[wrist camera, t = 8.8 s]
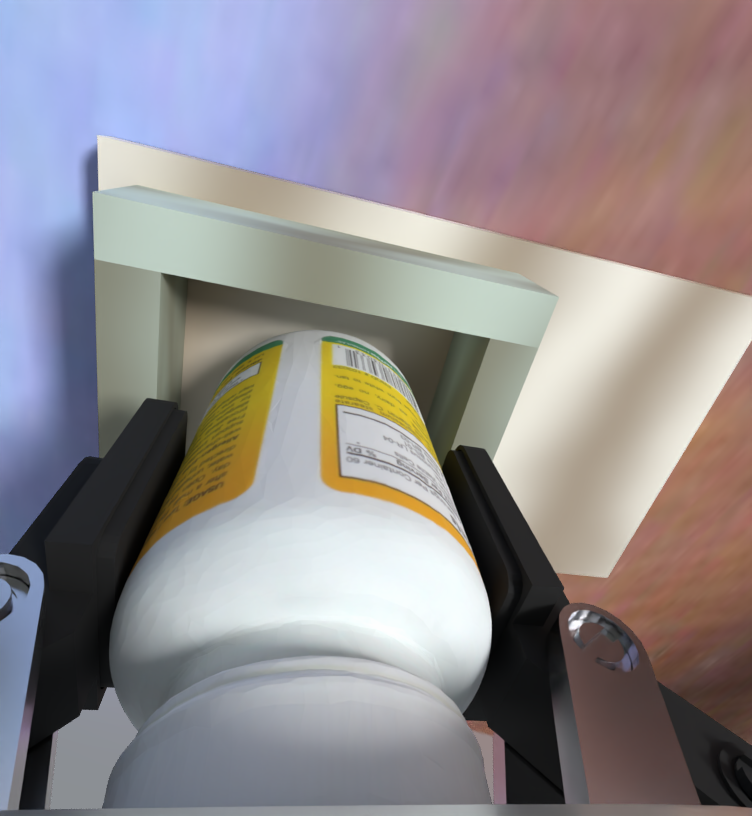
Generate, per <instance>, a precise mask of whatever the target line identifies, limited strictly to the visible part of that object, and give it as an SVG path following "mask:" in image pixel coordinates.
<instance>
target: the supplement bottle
mask: <svg viewBox="0 0 752 816" xmlns="http://www.w3.org/2000/svg"><path fill="white" fill-rule="evenodd" d="M491 637H492V621H491V612H490V606H489V601H488V596H487V592H486V589H485V586H484V583H483V580H482V578H481V575H480V572H479V569H478V566H477V563H476V560H475V557H474V554H473V551H472V548H471V546H470V544H469V542H468V539H467V536H466V534H465V531H464V528H463V525H462V522H461V520H460V517H459V515H458V512H457V510H456V507H455V504H454V501H453V499H452V496H451V493H450V490H449V488H448V485H447V483H446V480H445V477H444V475H443V472H442V469H441V467H440V464H439V462H438V459H437V456H436V453H435V451H434V448H433V445H432V443H431V440H430V437H429V435H428V432H427V429H426V426H425V423H424V420H423V418H422V415H421V413H420V410H419V407H418V405H417V402H416V400H415V398H414V395H413V393H412V390H411V388H410V386H409V384H408V382H407V381H406V379H405V377H404V376H403V374H402V373H401V371H400V370H399V369H398V367H397V366H396V365H395V364H394V363H393V362H392V361H391V360H390V359H389V358H388V357H386V356H385V355H384V354H383V353H382V352H380V351H379V350H378V349H376V348H375V347H373V346H372V345H370V344H368V343H366V342H364V341H363V340H361V339H358V338H356V337H353V336H350V335H348V334H343V333H339V332H333V331H325V330H301V331H294V332H290V333H286V334H282V335H278V336H275V337H272V338H269V339H267V340H265V341H263V342H261V343H259V344H258V345H256V346H255V347H253V348H252V349H251V350H249V351H248V352H247V353H246V354H244V355H243V356H242V357H241V358H240V359H239V360H238V361H236V362H235V364H234V365H233V366H232V367H231V368H230V369H229V370H228V372H227V373H226V374H225V375H224V377H223V378H222V380H221V382H220V383H219V385H218V387H217V389H216V391H215V393H214V395H213V398H212V400H211V402H210V404H209V407H208V409H207V410H206V412H205V414H204V416H203V419H202V421H201V423H200V425H199V427H198V429H197V432H196V434H195V436H194V439H193V441H192V443H191V445H190V447H189V449H188V451H187V453H186V456H185V458H184V460H183V462H182V464H181V466H180V468H179V471H178V473H177V475H176V477H175V479H174V481H173V483H172V486H171V488H170V490H169V492H168V494H167V496H166V498H165V500H164V502H163V504H162V507H161V509H160V511H159V513H158V515H157V517H156V519H155V521H154V523H153V526H152V528H151V530H150V532H149V534H148V536H147V538H146V541H145V543H144V545H143V547H142V549H141V552H140V554H139V556H138V558H137V560H136V562H135V564H134V566H133V568H132V570H131V572H130V575H129V577H128V579H127V581H126V583H125V586H124V588H123V591H122V593H121V596H120V598H119V601H118V603H117V607H116V610H115V613H114V617H113V621H112V626H111V631H110V644H109V662H110V670H111V677H112V681H113V684H114V688H115V691H116V694H117V696H118V699H119V701H120V703H121V706H122V708H123V710H124V712H125V713H126V715H127V716H128V718H129V719H130V721H131V723H132V724H133V726H134V727H135V728H136V729H137V730H138V733H137V735H136V737H135V739H134V740H133V741H132V742H131V743H130V745H129V746H128V747H127V748H126V749H125V751H124V752H123V753H122V754H121V756H120V757H119V759H118V760H117V762H116V764H115V766H114V768H113V770H112V773H111V775H110V778H109V781H108V785H107V789H106V795H105V799H104V803H103V807H102V809H118V808H186V807H258V806H358V805H475V804H492V802H491V798H490V793H489V789H488V785H487V780H486V777H485V772H484V762H483V757H482V753H481V749H480V746H479V743H478V741H477V739H476V737H475V735H474V734H473V732H472V730H471V729H470V728H469V727H468V725H467V722H466V720H465V718H464V716H463V715H462V714H463V713H464V711H465V710H466V709H467V707H468V706H469V704H470V703H471V701H472V700H473V698H474V696H475V694H476V692H477V691H478V689H479V686H480V684H481V681H482V679H483V676H484V673H485V671H486V667H487V663H488V660H489V654H490V649H491Z"/></svg>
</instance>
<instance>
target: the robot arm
mask: <svg viewBox="0 0 752 816" xmlns="http://www.w3.org/2000/svg"><path fill="white" fill-rule="evenodd" d="M187 420H188V413H187V411H184V410H178V403H177V402H172V401H165V400H159V399H152V398H146V399H145V400H144V402H143V403H142V405H141V406H140V407H139V409H138V410H137V412H136V413H135V414H134V416H133V417H132V419H131V420H130V422H129V423H128V424H127V426H126V427H125V429H124V430H123V431H122V433H121V434H120V436H119V437H118V438H117V440H116V441H115V443H114V444H113V445H112V447H111V448H110V450H109V451H108V452H107V454H106V455H105V457H104V458H97V457H86V458H84V459H83V460H82V461H81V462H80V463H79V464H78V466H77V467H76V468H75V470H74V471H73V472H72V473H71V475H70V476H69V477H68V479H67V480H66V481H65V482H64V484H63V485H62V486H61V488H60V489H59V490H58V491H57V493H56V494H55V495H54V497H53V498H52V499H51V500H50V502H49V503H48V504H47V506H46V507H45V508H44V509H43V511H42V512H41V513H40V514H39V516H38V517H37V518H36V520H35V521H34V522H33V523H32V525H31V526H30V527H29V529H28V530H27V531H26V532H25V534H24V535H23V536H22V538H21V539H20V540H19V541H18V543H17V544H16V545H15V547H14V548H13V549H12V550H11V552H10V553H9V554H0V816H752V746H751V745H750V744H748V743H747V742H745V741H744V740H743V739H741V738H740V737H738V736H737V735H735V734H734V733H732V732H731V731H729V730H728V729H726V728H725V727H724V726H722V725H721V724H719V723H718V722H716V721H715V720H713V719H712V718H710V717H709V716H708V715H706V714H705V713H703V712H702V711H700V710H699V709H697V708H696V707H694V706H693V705H691V704H690V703H689V702H687V701H686V700H684V699H683V698H681V697H680V696H678V695H677V694H675V693H674V692H672V691H671V690H670V689H668V688H667V687H665V686H664V685H662V684H661V683H659V682H658V681H657V680H656V677H655V674H654V671H653V669H652V666H651V663H650V660H649V657H648V655H647V652H646V651H645V649H644V647H643V645H642V643H641V641H640V640H639V639H638V637H637V636H636V635H635V634H634V632H633V631H632V630H631V629H630V628H629V627H628V626H626V625H625V624H624V623H623V622H622V621H621V620H620V619H618V618H617V617H615V616H614V615H612V614H611V613H609V612H607V611H605V610H603V609H601V608H599V607H596V606H594V605H590V604H585V603H571V604H570V603H569V601H568V599H567V598H566V596H565V594H564V592H563V590H564V587H563V585H562V583H561V581H560V580H559V578H558V576H557V574H556V573H555V571H554V569H553V567H552V566H551V564H550V562H549V560H548V559H547V557H546V555H545V553H544V552H543V550H542V548H541V546H540V544H539V543H538V541H537V539H536V537H535V536H534V534H533V532H532V530H531V529H530V527H529V525H528V523H527V522H526V520H525V518H524V516H523V515H522V513H521V511H520V509H519V507H518V506H517V504H516V502H515V500H514V499H513V497H512V495H511V493H510V492H509V490H508V488H507V486H506V485H505V483H504V481H503V479H502V478H501V476H500V474H499V472H498V470H497V469H496V467H495V465H494V463H493V462H492V460H491V458H490V456H489V455H488V453H487V451H486V450H485V449H483V448H478V447H471V446H464V445H459V446H458V447H457V448H456V449H455V450H450V451H449V452H448V453H447V455H446V458H445V460H444V463H443V466H442V472H443V475H444V477H445V480H446V483H447V485H448V488H449V490H450V493H451V496H452V499H453V501H454V504H455V507H456V510H457V512H458V515H459V517H460V520H461V522H462V525H463V528H464V531H465V534H466V536H467V539H468V542H469V544H470V546H471V548H472V551H473V554H474V557H475V560H476V563H477V566H478V569H479V572H480V575H481V578H482V580H483V583H484V586H485V589H486V592H487V596H488V601H489V606H490V612H491V621H492V637H491V649H490V654H489V660H488V663H487V667H486V671H485V673H484V676H483V679H482V681H481V684H480V686H479V689H478V691H477V692H476V694H475V696H474V698H473V700H472V701H471V703H470V704H469V706H468V707H467V709H466V710H465V711H464V713H463V714H462V715H463V716H464V718H465V720H473V721H487V724H488V727H489V728H491V729H492V730H493V731H494V734H493V782H494V783H493V787H494V804H475V805H358V806H258V807H186V808H118V809H55V810H54V809H51V810H50V804H51V795H52V784H53V776H54V766H55V756H56V747H57V738H58V729H60V728H62V727H63V726H65V725H66V724H68V723H69V722H71V721H72V720H74V719H75V718H77V717H78V716H79V715H80V713H81V711H82V709H83V710H98V708H99V706H100V703H101V701H102V698H103V696H104V693H105V691H106V688H107V687H114V684H113V681H112V677H111V670H110V662H109V644H110V631H111V626H112V621H113V617H114V613H115V610H116V607H117V603H118V601H119V598H120V596H121V593H122V591H123V588H124V586H125V583H126V581H127V579H128V577H129V575H130V572H131V570H132V568H133V566H134V564H135V562H136V560H137V558H138V556H139V554H140V552H141V549H142V547H143V545H144V543H145V541H146V538H147V536H148V534H149V532H150V530H151V528H152V526H153V523H154V521H155V519H156V517H157V515H158V513H159V511H160V509H161V507H162V504H163V502H164V500H165V498H166V496H167V494H168V492H169V490H170V488H171V486H172V483H173V481H174V479H175V477H176V475H177V473H178V471H179V468H180V466H181V464H182V462H183V460H184V458H185V449H186V434H187Z"/></svg>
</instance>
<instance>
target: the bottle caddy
mask: <svg viewBox="0 0 752 816" xmlns="http://www.w3.org/2000/svg"><path fill="white" fill-rule="evenodd" d="M97 142H98V191H94V192H92V193H93V233H94V273H95V312H96V352H97V392H98V431H99V458H104V457H105V455H106V454H107V452H108V451H109V450H110V448H111V447H112V445H113V444H114V443H115V441H116V440H117V438H118V437H119V436H120V434H121V433H122V431H123V430H124V429H125V427H126V426H127V424H128V423H129V422H130V420H131V419H132V417H133V416H134V414H135V413H136V412H137V410H138V409H139V407H140V406H141V405H142V403H143V402H144V400H145V399H146V398H152V399H159V400H165V401H172V402H177V403H178V410H184V411H187V413H188V420H187V434H186V449H185V456H186V453H187V451H188V449H189V447H190V445H191V443H192V441H193V439H194V436H195V434H196V432H197V429H198V427H199V425H200V423H201V421H202V419H203V416H204V414H205V412H206V410H207V409H208V407H209V404H210V402H211V400H212V398H213V395H214V393H215V391H216V389H217V387H218V385H219V383H220V382H221V380H222V378H223V377H224V375H225V374H226V373H227V372H228V370H229V369H230V368H231V367H232V366H233V365H234V364H235V362H236V361H238V360H239V359H240V358H241V357H242V356H243V355H244V354H246V353H247V352H248V351H249V350H251V349H252V348H253V347H255V346H256V345H258V344H259V343H261V342H263V341H265V340H267V339H269V338H272V337H275V336H278V335H282V334H286V333H290V332H294V331H301V330H325V331H333V332H339V333H343V334H348V335H350V336H353V337H356V338H358V339H361V340H363V341H364V342H366V343H368V344H370V345H372V346H373V347H375V348H376V349H378V350H379V351H380V352H382V353H383V354H384V355H385V356H386V357H388V358H389V359H390V360H391V361H392V362H393V363H394V364H395V365H396V366H397V367H398V369H399V370H400V371H401V373H402V374H403V376H404V377H405V379H406V381H407V382H408V384H409V386H410V388H411V390H412V393H413V395H414V398H415V400H416V402H417V405H418V407H419V410H420V413H421V415H422V418H423V420H424V423H425V426H426V429H427V432H428V435H429V437H430V440H431V443H432V445H433V448H434V451H435V453H436V456H437V459H438V462H439V464H440V467H441V469H442V466H443V463H444V460H445V458H446V455H447V453H448V452H449V451H450V450H455V449H456V448H457V447H458V446H459V445H464V446H471V447H478V448H483V449H485V450H486V451H487V453H488V455H489V456H490V458H491V460H492V462H493V463H494V465H495V467H496V469H497V470H498V472H499V474H500V476H501V478H502V479H503V481H504V483H505V485H506V486H507V488H508V490H509V492H510V493H511V495H512V497H513V499H514V500H515V502H516V504H517V506H518V507H519V509H520V511H521V513H522V515H523V516H524V518H525V520H526V522H527V523H528V525H529V527H530V529H531V530H532V532H533V534H534V536H535V537H536V539H537V541H538V543H539V544H540V546H541V548H542V550H543V552H544V553H545V555H546V557H547V559H548V560H549V562H550V564H551V566H552V567H553V569H554V571H555V573H563V574H574V575H584V576H594V577H605V578H607V577H608V576H609V574H610V573H611V571H612V569H613V568H614V566H615V564H616V563H617V561H618V559H619V558H620V556H621V554H622V553H623V551H624V549H625V548H626V546H627V545H628V543H629V541H630V540H631V538H632V536H633V535H634V533H635V531H636V530H637V528H638V526H639V525H640V523H641V521H642V520H643V518H644V517H645V515H646V513H647V512H648V510H649V508H650V507H651V505H652V503H653V502H654V500H655V498H656V497H657V495H658V494H659V492H660V490H661V489H662V487H663V485H664V484H665V482H666V480H667V479H668V477H669V475H670V474H671V472H672V470H673V469H674V467H675V466H676V464H677V462H678V461H679V459H680V457H681V456H682V454H683V452H684V451H685V449H686V447H687V446H688V444H689V442H690V441H691V439H692V438H693V436H694V434H695V433H696V431H697V429H698V428H699V426H700V424H701V423H702V421H703V419H704V418H705V416H706V415H707V413H708V411H709V410H710V408H711V406H712V405H713V403H714V401H715V400H716V398H717V396H718V395H719V393H720V391H721V390H722V388H723V387H724V385H725V383H726V382H727V380H728V378H729V377H730V375H731V373H732V372H733V370H734V368H735V367H736V365H737V363H738V362H739V360H740V359H741V357H742V355H743V354H744V352H745V350H746V349H747V347H748V345H749V344H750V342H751V340H752V296H750V295H746V294H742V293H738V292H734V291H730V290H726V289H722V288H718V287H714V286H710V285H706V284H702V283H698V282H694V281H690V280H686V279H682V278H678V277H674V276H670V275H666V274H662V273H658V272H654V271H650V270H646V269H642V268H638V267H634V266H630V265H626V264H622V263H618V262H614V261H610V260H606V259H602V258H598V257H594V256H590V255H586V254H582V253H578V252H573V251H569V250H565V249H561V248H557V247H553V246H549V245H545V244H541V243H537V242H533V241H529V240H525V239H521V238H517V237H513V236H509V235H505V234H501V233H497V232H493V231H489V230H485V229H481V228H477V227H473V226H469V225H465V224H461V223H457V222H453V221H449V220H445V219H441V218H437V217H433V216H429V215H425V214H421V213H417V212H413V211H409V210H405V209H401V208H397V207H393V206H389V205H385V204H381V203H377V202H373V201H369V200H365V199H361V198H357V197H353V196H349V195H344V194H340V193H336V192H332V191H328V190H324V189H320V188H316V187H312V186H308V185H304V184H300V183H296V182H292V181H288V180H284V179H280V178H276V177H272V176H268V175H264V174H260V173H256V172H252V171H248V170H244V169H240V168H236V167H232V166H228V165H224V164H220V163H216V162H212V161H208V160H204V159H200V158H196V157H192V156H188V155H184V154H180V153H176V152H172V151H168V150H164V149H160V148H156V147H152V146H148V145H144V144H140V143H136V142H132V141H128V140H124V139H120V138H115V137H111V136H101V135H97Z"/></svg>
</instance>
